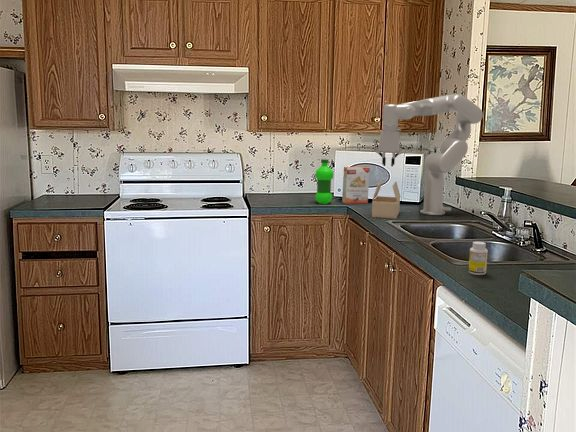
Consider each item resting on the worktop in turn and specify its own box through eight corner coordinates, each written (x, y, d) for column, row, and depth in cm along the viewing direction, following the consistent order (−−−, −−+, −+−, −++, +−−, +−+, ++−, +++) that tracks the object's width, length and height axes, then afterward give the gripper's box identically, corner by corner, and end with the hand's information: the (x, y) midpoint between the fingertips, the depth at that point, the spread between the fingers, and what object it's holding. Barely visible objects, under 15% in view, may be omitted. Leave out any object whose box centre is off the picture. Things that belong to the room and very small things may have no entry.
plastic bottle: (311, 202, 338) (313, 158, 334) (329, 201, 341) (330, 158, 337) (317, 204, 329) (318, 160, 324) (335, 204, 332) (336, 160, 327)
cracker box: (345, 204, 333) (346, 167, 330) (341, 202, 339) (343, 166, 336) (368, 203, 337) (370, 167, 334) (364, 202, 343) (365, 166, 339)
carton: (399, 212, 309) (400, 197, 308) (395, 219, 289) (396, 202, 288) (376, 210, 312) (377, 196, 311) (371, 217, 292) (372, 201, 291)
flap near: (399, 196, 306) (400, 196, 306) (396, 201, 289) (397, 201, 289) (395, 181, 306) (396, 181, 306) (392, 185, 288) (393, 185, 288)
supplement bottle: (474, 270, 195) (476, 240, 194) (489, 273, 191) (491, 243, 189) (464, 272, 192) (467, 242, 190) (479, 276, 188) (482, 245, 186)
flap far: (373, 200, 292) (372, 199, 292) (377, 195, 309) (376, 194, 309) (378, 185, 290) (377, 184, 290) (382, 181, 307) (381, 180, 307)
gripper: (407, 129, 295) (405, 166, 298) (374, 128, 299) (372, 164, 302) (406, 130, 287) (404, 167, 291) (372, 129, 292) (371, 165, 295)
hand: (388, 165), depth 296 cm, fingers open, 3 cm apart
